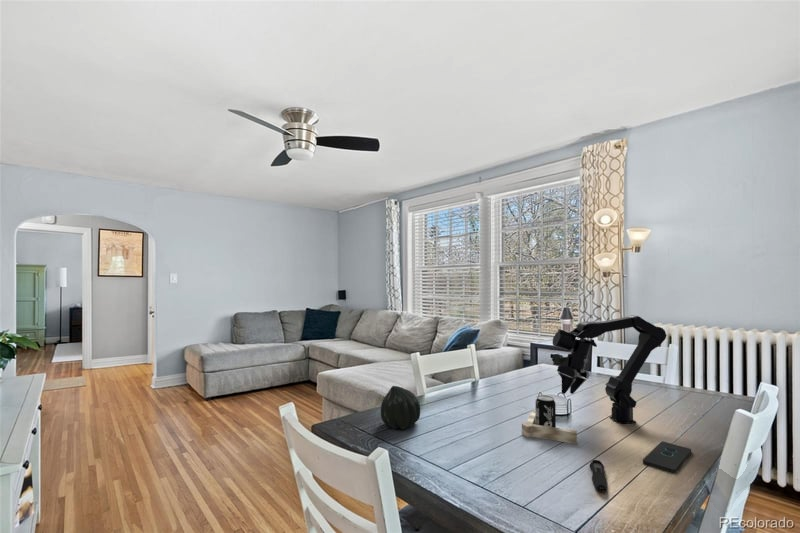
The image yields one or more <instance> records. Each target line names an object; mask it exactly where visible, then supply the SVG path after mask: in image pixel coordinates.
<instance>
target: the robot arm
mask: <svg viewBox="0 0 800 533" xmlns="http://www.w3.org/2000/svg"><path fill="white" fill-rule="evenodd" d="M629 328H633V329H634V330H635V331H637V332H638V333H639V334H638V342H637V345H636V347H635V349H634V351H633V352H632V353H631V355H630V357H629V358H628V360H627V361H626V363H625V365H624V367H623V368H622V370H621V371H620V373H619V374H618V375H616V376H615V377H614V376H612V375H611V376H610V377H609V379H608V381H607V382H606V383H605V384H604V385H605V389H604V390H605V394H606V395H607V396H608V397H609V399H610V401H611V402H612V407H611V416H609V418H610V419H611V420H613V421H614V422H616V423H618V424H619V423H620V424H622V425H623V424H637V421H636V420H634V408H636V405H637V401H636V400H635V399H634V398H633V397H632V396H631V393H632V391H633V381H634V380H635V378H636V377H637V375H639V374H638V373H639V372H640V370H641V369H642V367H643V365H644V364H645V363H646V360H647V359H648V357H649V356H650V354H651V353H652V351H654V350H655V349H657V348H658V347H660V346H661V345H662V344H663V343H664V341H665V340H666V339H667V336H668V335H667V333H666V330H665V329H664V328H663V327H661V326H656V325H654V324H653V323H651V322H649V321H647V320H645V319H643V318H642V317H641V316H638V315H634V314H633V315H628V316H625V317H620V318H619V317H617V318H613V319H607V320H602V321H580V322H579V323H577V326H576V327H575V328H573V329H572V330H571V331H569V332H568V331H565V330H563V329H560V328H558V330H557V332H555V334H554V336H553V338H552V346H554V347H556V348H559V349H561V350H562V349H563V350H566V351H571V353H569V354H567V356H562V355H561V354H559V353H554V354H553V356H552V358H551V361H552V363H553V364H552V365H553V366H556V367H557V368H556V369H557V370H556V372H557V373H558V375H559V376H560V378H561V394H562V395H565V394H566V393H567V392H568V390H569V393H570V394H572V395H574V394H575V393H576V392H577V390H578V389H579V388H580V387H581V386H582V385H583V384H584V383H585V382H586V381H588V380H589V378H590V373H589V371H588V370H585V366H586V363H589V359H588V356H589V352H590V350H591V346H592V347H593V348H597V347H598V345H597V343H596V342H595V340H594V338H595V339H596V338H597V337H601V336H602V335H604V334H606V333H609V332H613V331H619V330H624V329H629ZM577 338H578V339H577Z"/></svg>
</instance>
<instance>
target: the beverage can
mask: <svg viewBox="0 0 800 533" xmlns="http://www.w3.org/2000/svg"><path fill="white" fill-rule="evenodd" d="M556 409H557V408H556V401H555V398H554V397H553V396H550V395H544V394H542V395H537V396H536V399H535V411H536V425H542V426H548V427H555V428H557V427H556V426H557V425H556V422H557V421H556V418H557V414H556Z"/></svg>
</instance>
